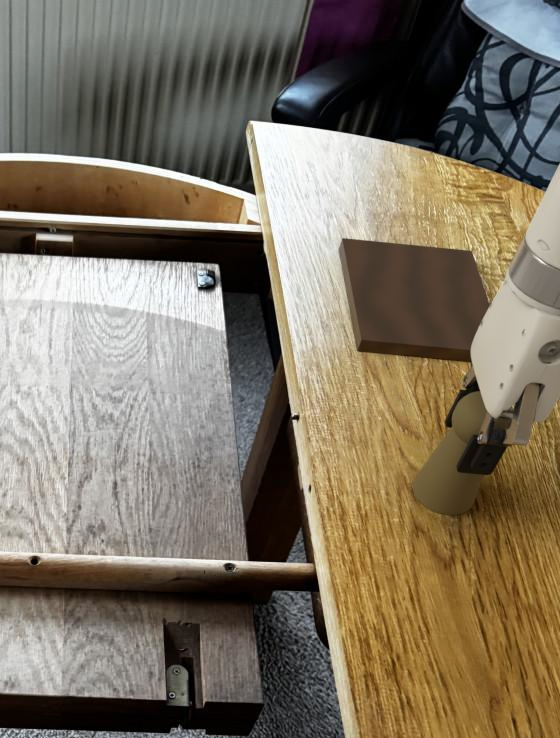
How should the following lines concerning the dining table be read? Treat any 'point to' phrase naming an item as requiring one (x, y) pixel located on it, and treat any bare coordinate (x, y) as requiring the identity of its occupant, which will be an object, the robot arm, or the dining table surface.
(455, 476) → the tan pawn
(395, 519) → the dining table surface
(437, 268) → the walnut board
